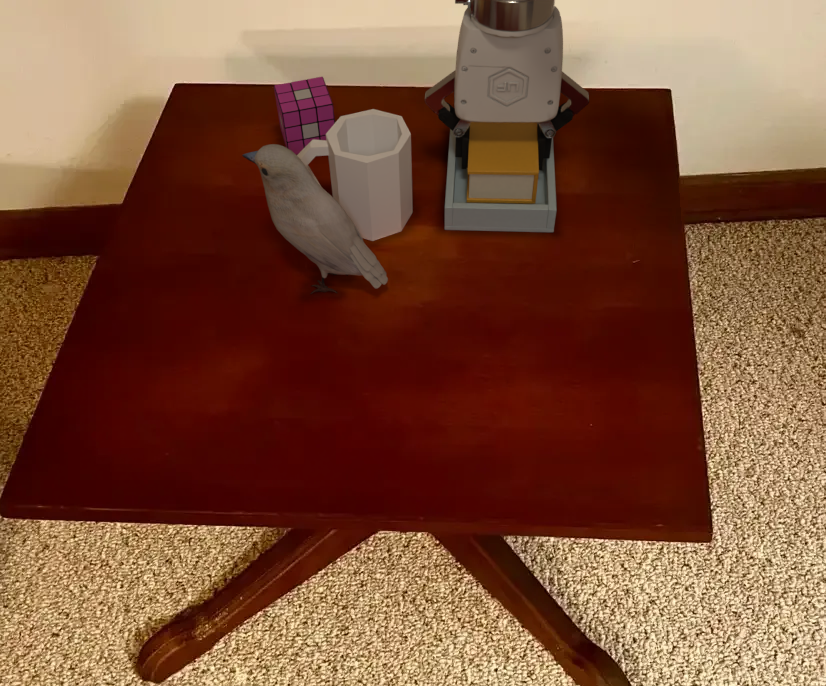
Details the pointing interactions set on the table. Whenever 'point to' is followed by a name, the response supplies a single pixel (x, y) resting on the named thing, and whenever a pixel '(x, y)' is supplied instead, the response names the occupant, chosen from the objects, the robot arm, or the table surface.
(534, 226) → the tray
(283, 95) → the puzzle toy
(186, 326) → the table surface
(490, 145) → the book
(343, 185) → the mug
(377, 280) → the bird
